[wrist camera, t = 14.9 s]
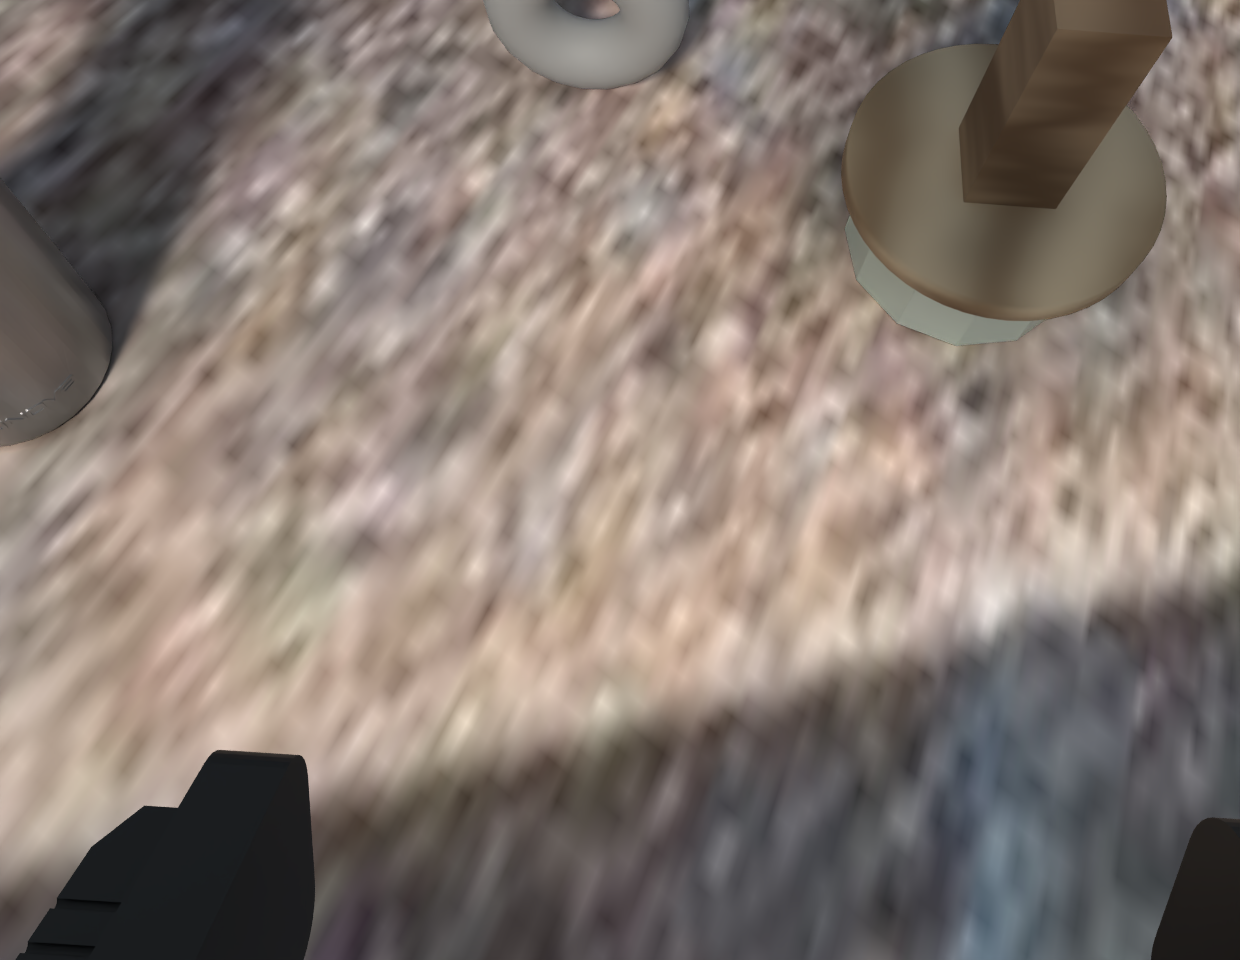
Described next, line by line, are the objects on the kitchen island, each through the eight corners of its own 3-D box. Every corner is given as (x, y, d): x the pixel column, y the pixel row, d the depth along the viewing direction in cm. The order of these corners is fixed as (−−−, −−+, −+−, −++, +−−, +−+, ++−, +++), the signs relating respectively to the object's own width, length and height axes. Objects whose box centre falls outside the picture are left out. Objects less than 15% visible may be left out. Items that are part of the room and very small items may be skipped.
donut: (485, 92, 55) (465, -72, 46) (497, 41, 56) (479, -129, 47) (677, 116, 55) (696, -44, 46) (684, 65, 56) (703, -101, 47)
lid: (843, 308, 45) (918, 134, 35) (839, 52, 50) (904, -165, 40) (1171, 332, 45) (1343, 166, 35) (1134, 74, 50) (1274, -137, 40)
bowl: (802, 223, 53) (823, 157, 48) (963, 120, 55) (998, 48, 51) (954, 385, 49) (992, 331, 45) (1117, 267, 52) (1169, 205, 48)
